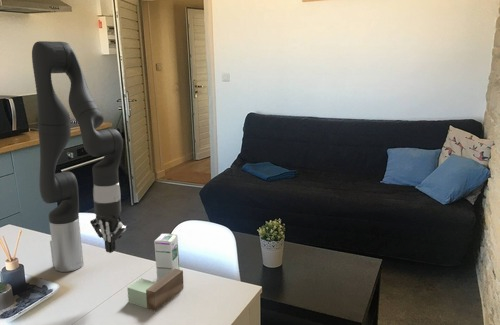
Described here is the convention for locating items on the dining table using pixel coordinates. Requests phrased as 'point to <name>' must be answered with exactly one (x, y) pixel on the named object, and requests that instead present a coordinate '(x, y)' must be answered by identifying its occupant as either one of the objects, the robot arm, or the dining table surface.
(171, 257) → the syrup box
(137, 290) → the sage block
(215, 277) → the dining table surface
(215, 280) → the dining table surface
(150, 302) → the walnut board
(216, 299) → the dining table surface
